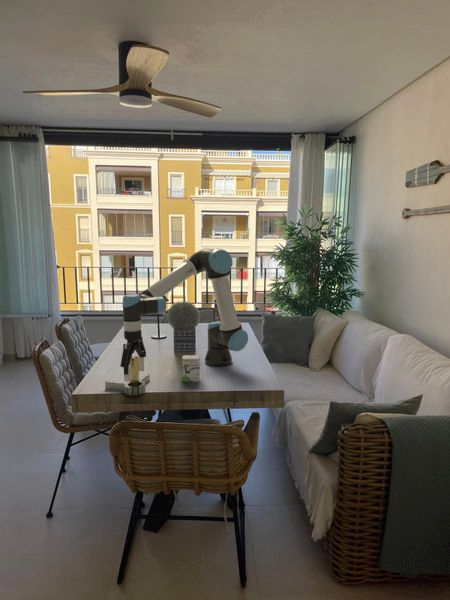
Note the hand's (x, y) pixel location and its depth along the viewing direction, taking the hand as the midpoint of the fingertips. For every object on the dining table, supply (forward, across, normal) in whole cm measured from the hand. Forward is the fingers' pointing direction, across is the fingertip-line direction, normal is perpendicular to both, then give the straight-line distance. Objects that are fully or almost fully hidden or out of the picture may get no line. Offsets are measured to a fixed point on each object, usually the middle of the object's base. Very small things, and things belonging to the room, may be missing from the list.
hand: (134, 375), depth 176 cm
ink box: (+8, -20, +20) cm, 29 cm away
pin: (+7, 0, 0) cm, 7 cm away
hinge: (+7, -5, -5) cm, 10 cm away
